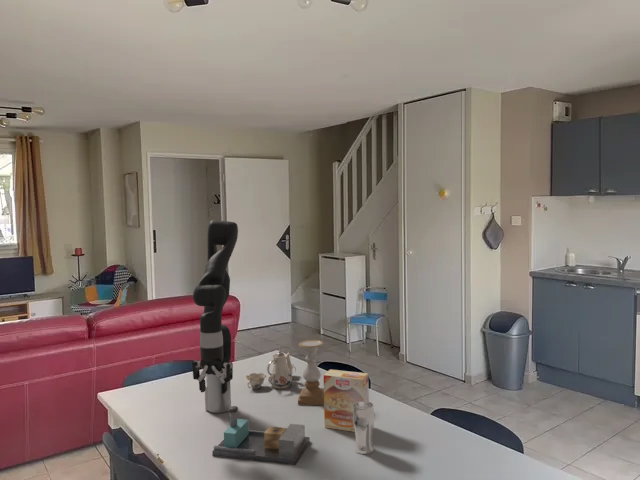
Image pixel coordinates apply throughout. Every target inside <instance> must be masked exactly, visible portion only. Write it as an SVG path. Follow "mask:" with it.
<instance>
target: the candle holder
mask: <svg viewBox="0 0 640 480" xmlns="http://www.w3.org/2000/svg"><path fill="white" fill-rule="evenodd" d="M298 346H299V348H301V349H304V350H305V352H306V356H305V358H304V359H305V361H306V363H307V365H306V368H305V369H304V371H303V374H302V377H303V379H304V380H305V382H304V386H305V387H303V388H302V389H301V391H300V394H299V396H298V399H297V406H324V387H320V384H321V383H320V381H319V380H320V379H321V376H322V374H321V371H320V369H319V367H318V366H317V364H316V363H317V361H318V360H319V358H318V356H317V354H316V353H317V351H318V349H319V348H322V347H323V346H324V341H322V340H318V339H307V340H302V341H299V343H298Z"/></svg>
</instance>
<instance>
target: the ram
mask: <svg viewBox="0 0 640 480" xmlns="http://www.w3.org/2000/svg"><path fill="white" fill-rule="evenodd" d="M238 411H239V407H238V406H236V405H233V406H232V405H231V407H229V408H228V411H227V412H228V413H229V427H228V428H227V429H225V431H224V432H223V440H224V447H233V448H237V447H238V446H239V444H240V443H241V442H242V441H243V440H244V439H245V438H246V437H247V436H248V434H249V430H250V428H249V427H250V426H249V419H244V418H243V419H242V418H238Z"/></svg>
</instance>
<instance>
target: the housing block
mask: <svg viewBox="0 0 640 480" xmlns="http://www.w3.org/2000/svg"><path fill="white" fill-rule="evenodd" d="M287 428H288V427H278V426H269V427H268V428H267V429H266V430H265V433H264V443H265V448H270V449H279V438H280V437H281V436H282V434H283V433H284V432H285V430H286V429H287Z"/></svg>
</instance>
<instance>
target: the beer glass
mask: <svg viewBox="0 0 640 480" xmlns="http://www.w3.org/2000/svg"><path fill="white" fill-rule="evenodd" d="M353 425H354V431H355V432H354V436H355V444H354V451H355V452H356V453H357V454H360V455H361V454H362V455H368V454H369V455H370V454H371V453H373V451H374V444H373V433H374V426H375V409H374V403H372V402H371V401H369V402H367V401H359V402H355V403H354V404H353Z"/></svg>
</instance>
